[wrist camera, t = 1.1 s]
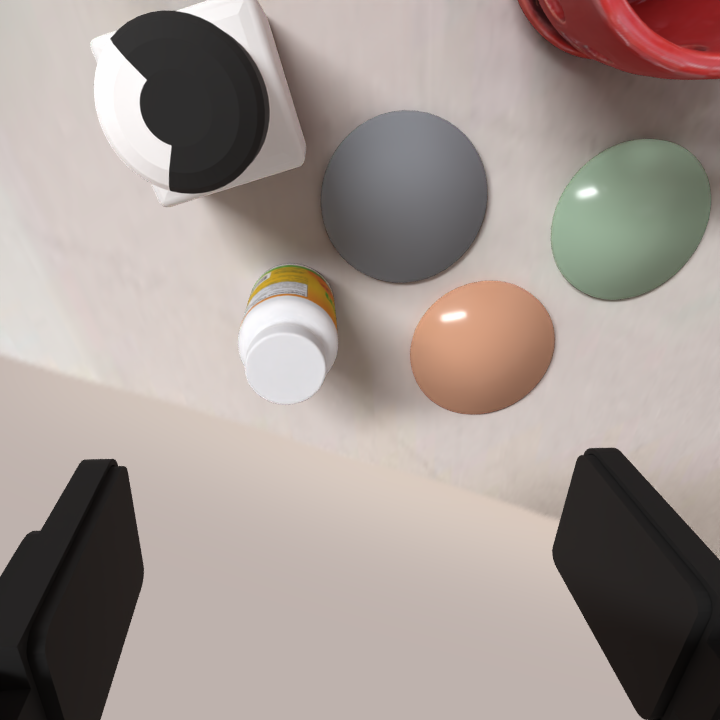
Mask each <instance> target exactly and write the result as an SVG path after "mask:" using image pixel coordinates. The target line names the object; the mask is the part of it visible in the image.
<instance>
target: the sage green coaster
mask: <svg viewBox="0 0 720 720" xmlns="http://www.w3.org/2000/svg"><path fill="white" fill-rule="evenodd" d="M710 207H711V193H710V186H709V182H708V178H707V176H706V173H705V171H704V169H703V167H702V166H701V164H700V162H699V161H698V160H697V159H696V158H695V156H694V155H693V154H691V153H690V152H689V151H688V150H686V149H685V148H683V147H681V146H679V145H677V144H674V143H671V142H669V141H663V140H657V139H636V140H630V141H626V142H623V143H620V144H617V145H615V146H612V147H610V148H608V149H606V150H605V151H603V152H601V153H599V154H598V155H597V156H595V157H594V158H592V159H591V160H590V161H589V162H587V163H586V164H585V165H584V166H583V167H582V168H581V169H580V170H579V171H578V172H577V173H576V174H575V176H574V177H573V178H572V179H571V181H570V182H569V184H568V185H567V186H566V188H565V190H564V192H563V193H562V195H561V197H560V199H559V202H558V204H557V206H556V209H555V213H554V216H553V221H552V226H551V247H552V252H553V256H554V259H555V262H556V264H557V267H558V268H559V270H560V272H561V273H562V275H563V276H564V277H565V278H566V280H567V281H568V282H570V283H571V284H572V285H573V286H574V287H576V288H577V289H578V290H580V291H582V292H583V293H585V294H588V295H590V296H592V297H596V298H600V299H608V300H619V299H626V298H631V297H635V296H638V295H641V294H644V293H646V292H648V291H650V290H652V289H654V288H656V287H658V286H660V285H661V284H663V283H664V282H666V281H667V280H668V279H670V278H671V277H672V276H673V275H675V274H676V273H677V272H678V271H679V270H680V269H681V268H682V267H683V266H684V264H685V263H686V262H687V261H688V260H689V258H690V257H691V256H692V254H693V253H694V251H695V250H696V248H697V246H698V245H699V243H700V241H701V239H702V237H703V234H704V232H705V229H706V226H707V223H708V220H709V214H710Z"/></svg>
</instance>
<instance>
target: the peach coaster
mask: <svg viewBox="0 0 720 720" xmlns="http://www.w3.org/2000/svg"><path fill="white" fill-rule="evenodd" d="M554 341H555V337H554V329H553V324H552V321H551V319H550V316H549V314H548V312H547V311H546V309H545V307H544V306H543V305H542V304H541V303H540V302H539V300H537V299H536V298H535V297H534V296H533V295H532V294H531V293H529V292H528V291H526V290H524V289H523V288H521V287H519V286H516V285H514V284H510V283H507V282H501V281H480V282H474V283H470V284H466V285H464V286H461V287H458V288H456V289H454V290H452V291H450V292H449V293H447V294H445V295H444V296H443V297H441V298H440V299H438V300H437V301H436V302H435V303H434V304H433V305H432V306H431V307H430V308H429V309H428V310H427V311H426V313H425V314H424V315H423V317H422V318H421V320H420V321H419V323H418V325H417V327H416V329H415V332H414V335H413V338H412V343H411V349H410V360H411V367H412V371H413V374H414V376H415V379H416V382H417V383H418V385H419V387H420V389H421V390H422V391H423V392H424V394H425V395H426V396H427V397H428V398H429V399H430V400H431V401H433V402H434V403H436V404H437V405H439V406H441V407H443V408H445V409H447V410H450V411H453V412H457V413H462V414H483V413H489V412H493V411H497V410H500V409H503V408H505V407H507V406H509V405H512V404H514V403H515V402H517V401H518V400H520V399H522V398H523V397H524V396H525V395H527V394H528V393H529V392H530V391H531V390H532V389H533V388H534V387H535V386H536V385H537V384H538V382H539V381H540V380H541V379H542V377H543V375H544V374H545V372H546V370H547V368H548V366H549V364H550V361H551V359H552V356H553V351H554Z"/></svg>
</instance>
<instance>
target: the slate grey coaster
mask: <svg viewBox="0 0 720 720" xmlns="http://www.w3.org/2000/svg"><path fill="white" fill-rule="evenodd" d="M486 203H487V182H486V175H485V171H484V167H483V164H482V161H481V159H480V157H479V154H478V153H477V151H476V149H475V147H474V146H473V144H472V143H471V142H470V140H469V139H468V138H467V137H466V135H465V134H463V133H462V132H461V131H460V130H459V129H458V128H457V127H455V126H454V125H453V124H451V123H450V122H448V121H446V120H444V119H442V118H440V117H438V116H435V115H432V114H429V113H425V112H419V111H407V110H402V111H394V112H389V113H385V114H382V115H379V116H377V117H374V118H372V119H370V120H368V121H366V122H365V123H363V124H361V125H360V126H358V127H357V128H356V129H355V130H353V131H352V132H351V133H350V134H349V135H348V136H347V137H346V138H345V139H344V140H343V141H342V143H341V144H340V145H339V147H338V148H337V149H336V151H335V152H334V154H333V156H332V158H331V160H330V162H329V164H328V167H327V169H326V172H325V176H324V180H323V184H322V193H321V208H322V215H323V220H324V224H325V228H326V231H327V233H328V235H329V238H330V240H331V242H332V243H333V245H334V247H335V248H336V250H337V251H338V252H339V253H340V255H341V256H342V257H343V258H344V259H345V260H346V261H347V262H348V263H349V264H350V265H352V266H353V267H354V268H355V269H357V270H358V271H360V272H362V273H364V274H365V275H368V276H370V277H373V278H375V279H379V280H382V281H387V282H413V281H418V280H422V279H426V278H428V277H431V276H433V275H436V274H438V273H439V272H441V271H443V270H445V269H446V268H448V267H449V266H450V265H452V264H453V263H454V262H455V261H457V260H458V259H459V258H460V257H461V256H462V255H463V254H464V252H465V251H466V250H467V249H468V248H469V246H470V245H471V243H472V242H473V240H474V239H475V237H476V235H477V233H478V231H479V229H480V227H481V224H482V221H483V218H484V214H485V210H486Z"/></svg>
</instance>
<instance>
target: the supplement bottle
mask: <svg viewBox="0 0 720 720" xmlns="http://www.w3.org/2000/svg"><path fill="white" fill-rule="evenodd" d="M238 350H239V355H240V358H241V360H242V363H243V365H244V366H245V374H246V378H247V381H248V383H249V385H250V386H251V388H252V389H253V390H254V391H255V392H256V393H257V394H258V395H259V396H260V397H262V398H264V399H265V400H267V401H270V402H273V403H276V404H284V405H290V404H296V403H300V402H303V401H305V400H307V399H309V398H310V397H312V396H313V395H314V394H315V393H316V392H317V391H318V390H319V389H320V387H321V386H322V384H323V382H324V379H325V376H326V374H327V373H328V372H329V370H330V369H331V367H332V366H333V364H334V362H335V359H336V356H337V351H338V332H337V322H336V312H335V303H334V297H333V293H332V290H331V288H330V286H329V284H328V283H327V281H326V280H325V279H324V277H323V276H322V275H320V274H319V273H318V272H317V271H315V270H313V269H312V268H309V267H307V266H304V265H299V264H283V265H279V266H276V267H273V268H272V269H270V270H268V271H267V272H265V273H264V274H263V275H262V276H261V277H260V278H259V279H258V280H257V282H256V283H255V285H254V287H253V289H252V292H251V294H250V297H249V301H248V304H247V307H246V311H245V314H244V317H243V320H242V323H241V326H240V330H239V336H238Z"/></svg>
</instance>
